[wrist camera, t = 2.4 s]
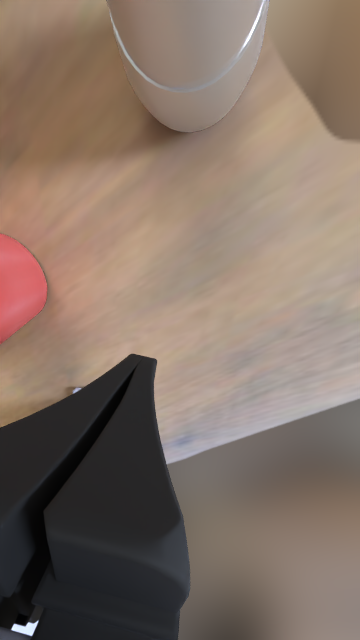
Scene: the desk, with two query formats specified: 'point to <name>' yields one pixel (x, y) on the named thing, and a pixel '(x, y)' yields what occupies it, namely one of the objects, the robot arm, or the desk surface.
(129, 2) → the plastic bottle
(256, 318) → the desk surface
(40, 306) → the flower pot
